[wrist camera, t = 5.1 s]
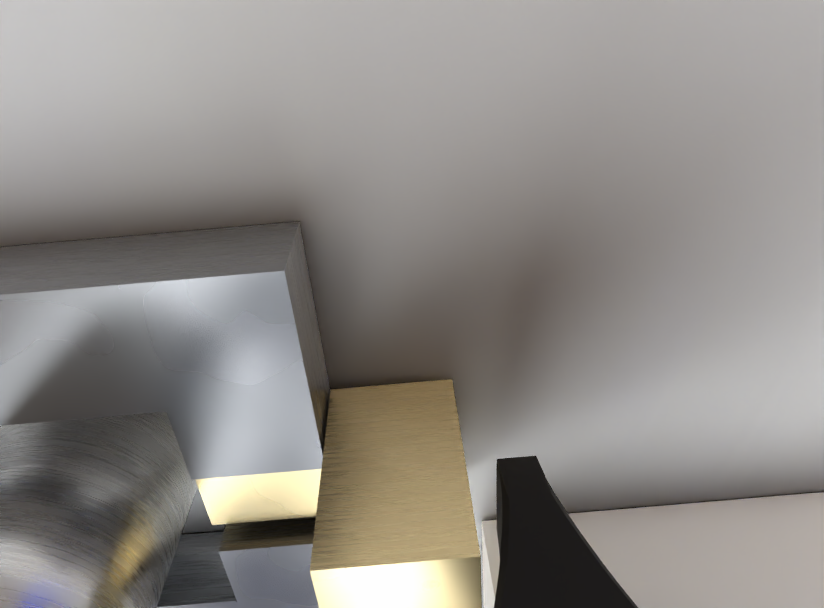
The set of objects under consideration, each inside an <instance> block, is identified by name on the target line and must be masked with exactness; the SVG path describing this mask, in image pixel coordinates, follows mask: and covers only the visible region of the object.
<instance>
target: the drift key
mask: <svg viewBox="0 0 824 608" xmlns="http://www.w3.org/2000/svg"><path fill="white" fill-rule="evenodd" d="M195 480H196V483H197V486H198V489H199V491H200V494H201V497H202V499H203V502H204V505H205V508H206V510H207V513H208V516H209V518H210V521H211V524H212V525H220V524H232V523H244V522H256V521H268V520H279V519H291V518H303V517H315V516H316V521H315V529H314V538H313V546H312V555H311V564H310V574H311V578H312V582H313V586H314V590H315V594H316V597H317V601H318V605H319V608H482V598H481V556H480V550H479V544H478V538H477V531H476V525H475V519H474V513H473V506H472V500H471V494H470V488H469V482H468V475H467V469H466V463H465V457H464V450H463V444H462V438H461V432H460V425H459V419H458V413H457V407H456V400H455V394H454V388H453V382H452V379H448V380H437V381H425V382H413V383H401V384H390V385H378V386H366V387H354V388H342V389H331V392H330V401H329V409H328V418H327V426H326V435H325V444H324V452H323V461H322V469H313V470H302V471H290V472H278V473H266V474H254V475H243V476H231V477H219V478H207V479H195Z"/></svg>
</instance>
